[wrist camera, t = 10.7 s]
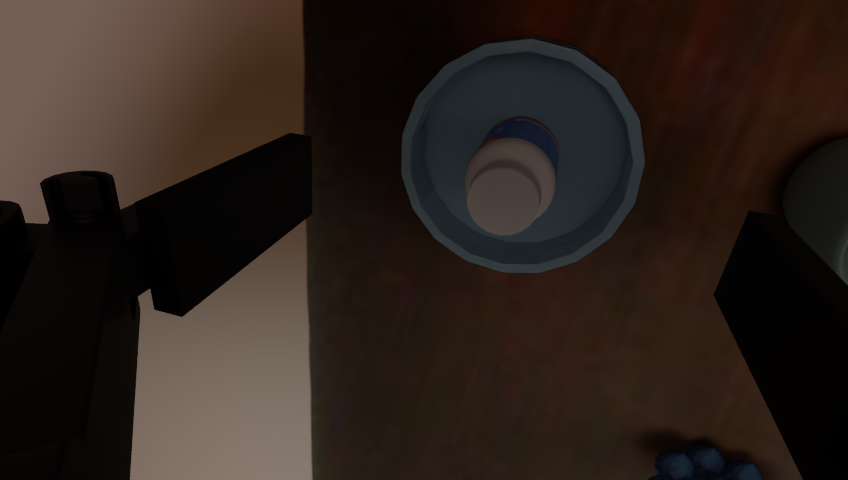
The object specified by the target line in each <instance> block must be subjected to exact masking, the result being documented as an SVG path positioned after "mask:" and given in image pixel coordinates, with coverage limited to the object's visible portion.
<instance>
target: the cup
mask: <svg viewBox="0 0 848 480" xmlns="http://www.w3.org/2000/svg"><path fill="white" fill-rule="evenodd" d="M782 209H783V212H784V216H785V219H786V223H787V224H788V225H789V226H790V227H791V228H792V229H793V230H794V231H795V232H796V233H797V234H798V235H799V236H800V237H801V238H802V239H803V240H804V241H805V242H806V243H807V244H808V245H809V246H810V247H811V248H812V249H813V250H814V251H815V252H816V253H817V254H818V255H819V256H820V257H821V259H822V260H823V261H824V262H825V263H826V264H827V265H828V266H829V267H830V268H831V269H832V270H833V271H834V272H835V273H836V274H837V275H838V276H839V277H840V278H841V279H842V280H843V281H844V282H845V283H846V284H847V285H848V137H844V138H841V139H838V140H835V141H832V142H830V143H828V144H826V145H824V146H822V147H820V148H819V149H817V150H816V151H815V152H813V153H812V154H810V155H809V156H808V157H807V158H806V159H805V160H804V161H803V162H802V163H801V164H800V165H799V166H798V167H797V168H796V169H795V171H794V172H793V173H792V175H791V176H790V178H789V180H788V182H787V184H786V186H785V189H784V193H783V203H782Z"/></svg>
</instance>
